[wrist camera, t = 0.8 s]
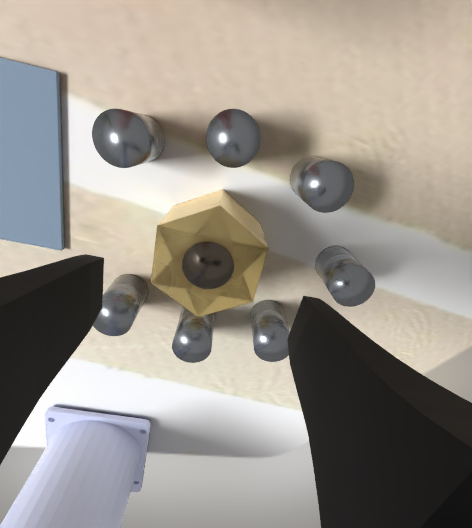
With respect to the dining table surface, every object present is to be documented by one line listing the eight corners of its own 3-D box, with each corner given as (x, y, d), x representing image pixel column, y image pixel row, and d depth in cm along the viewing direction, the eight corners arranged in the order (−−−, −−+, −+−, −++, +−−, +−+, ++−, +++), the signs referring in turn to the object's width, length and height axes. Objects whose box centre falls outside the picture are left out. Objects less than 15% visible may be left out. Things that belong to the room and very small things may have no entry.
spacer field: (314, 348, 20) (328, 384, 17) (111, 313, 19) (89, 346, 16) (396, 154, 15) (436, 159, 12) (122, 86, 14) (92, 72, 11)
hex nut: (243, 287, 18) (246, 325, 15) (165, 272, 18) (147, 308, 14) (266, 199, 16) (277, 217, 12) (177, 179, 15) (160, 192, 12)
